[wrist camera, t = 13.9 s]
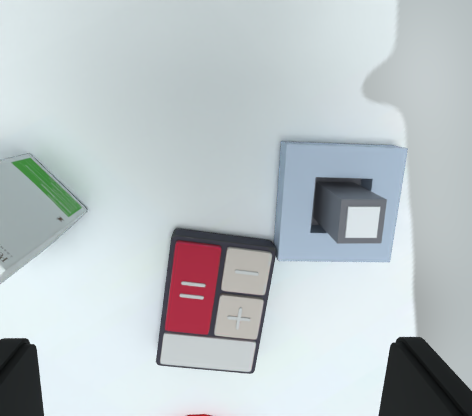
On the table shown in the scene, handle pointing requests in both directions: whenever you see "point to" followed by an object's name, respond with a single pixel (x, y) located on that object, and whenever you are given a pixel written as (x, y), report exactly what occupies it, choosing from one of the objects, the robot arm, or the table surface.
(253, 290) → the calculator
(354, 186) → the block
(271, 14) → the table surface
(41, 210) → the skincare box
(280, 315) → the table surface
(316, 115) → the table surface
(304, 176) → the outlet plate
